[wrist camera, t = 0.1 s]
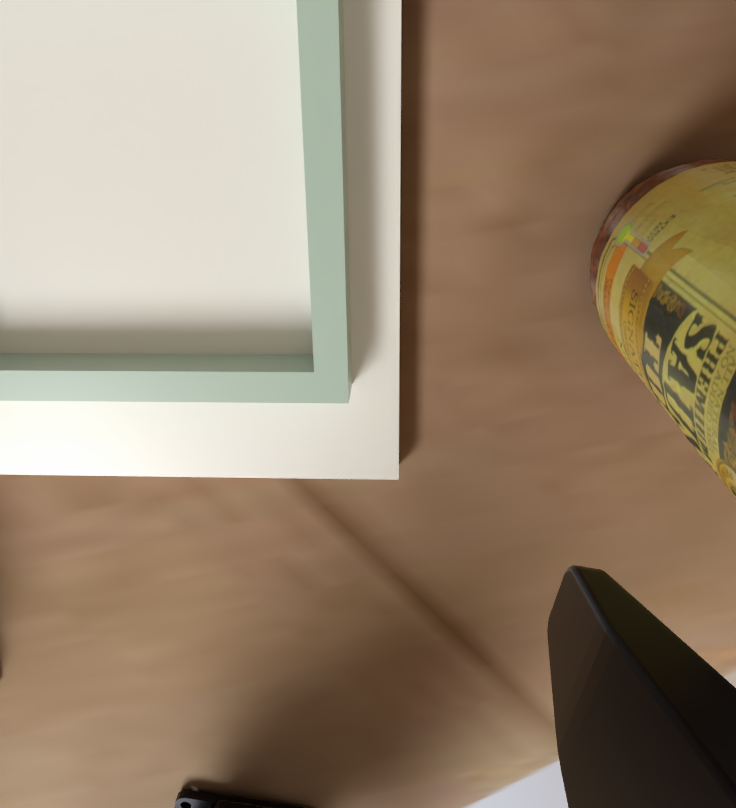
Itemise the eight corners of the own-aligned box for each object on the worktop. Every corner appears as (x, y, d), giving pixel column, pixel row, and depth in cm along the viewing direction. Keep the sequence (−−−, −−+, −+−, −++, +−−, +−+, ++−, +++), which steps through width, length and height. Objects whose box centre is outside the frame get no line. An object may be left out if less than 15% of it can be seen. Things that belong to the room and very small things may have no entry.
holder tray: (398, 465, 25) (398, 503, 23) (-43, 459, 26) (-86, 496, 23) (403, -280, 17) (403, -339, 14) (-249, -255, 17) (-347, -306, 15)
